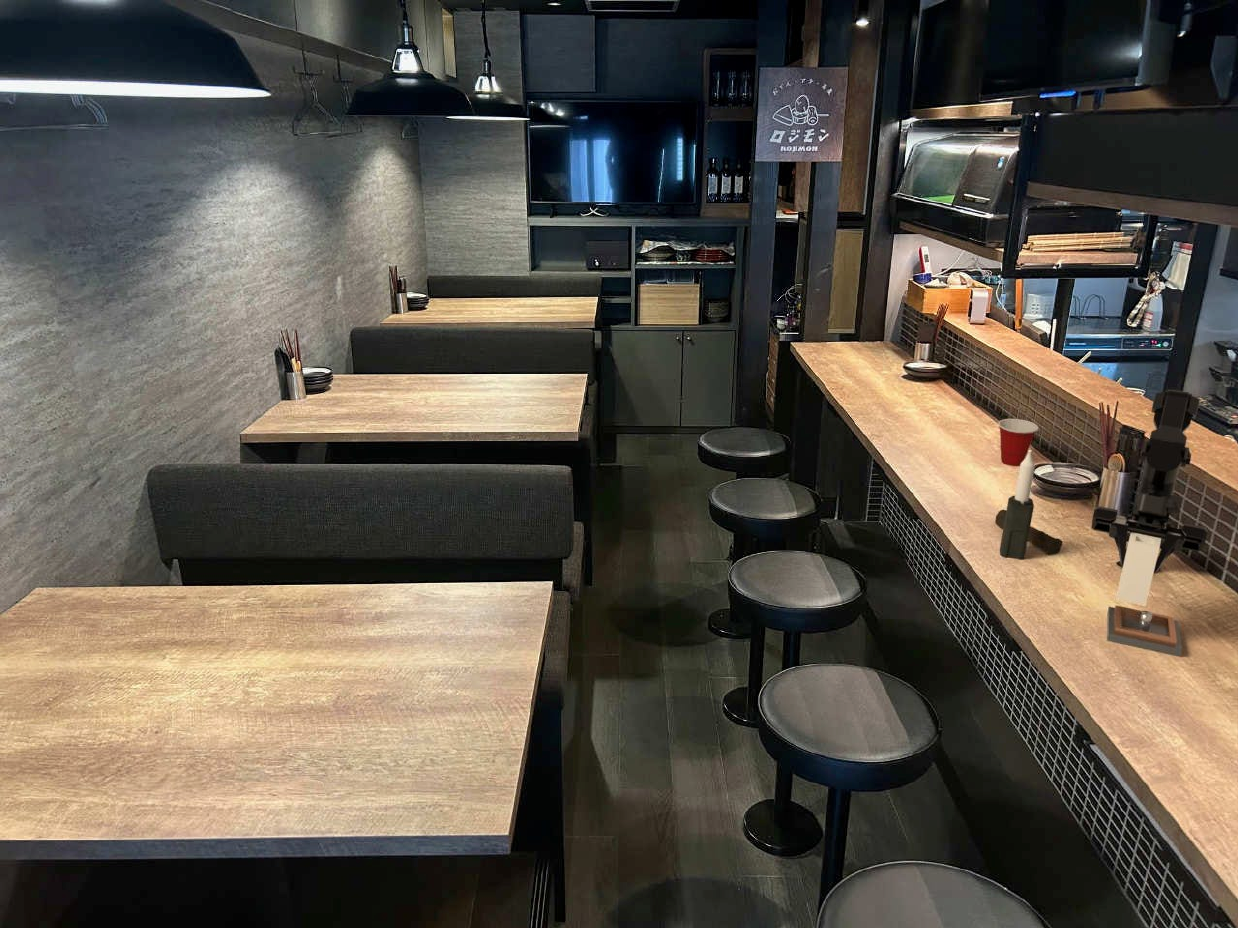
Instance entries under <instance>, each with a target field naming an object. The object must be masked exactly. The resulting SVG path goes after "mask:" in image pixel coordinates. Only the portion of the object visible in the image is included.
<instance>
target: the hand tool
mask: <svg viewBox="0 0 1238 928" xmlns="http://www.w3.org/2000/svg"><path fill="white" fill-rule="evenodd" d="M1006 510H1007V509H1003V508H1002V509H1001V510H999V511H998V512H997V513H996V516H995V525H996V526H998V527H999V528H1000V529H1001V530H1003V527H1004V522H1005V516H1006ZM1027 542H1029V543H1031V544H1033V545H1035V546H1036V547H1038V548H1040V549H1041V550H1044V551H1046V554H1047V555H1048V556H1052V555H1056V554H1058V553H1060V551H1061V548H1062V546H1063V540H1062V539H1060V538H1057V537H1053V536H1051V535H1049V533H1046V532H1044V531H1043V530H1039V529H1037V528H1035V527H1033V526H1031V525H1030V530H1029V536H1028V541H1027Z"/></svg>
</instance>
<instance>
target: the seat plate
mask: <svg viewBox="0 0 1238 928" xmlns="http://www.w3.org/2000/svg"><path fill="white" fill-rule="evenodd" d="M1106 613H1107V615H1106V617H1107V618H1106V623H1107V624H1106V629H1107V630H1106V641H1107V642H1108V641H1109V642H1113V643H1116V644H1117V643H1118V644H1122V645H1126V646H1131V647H1135V648H1139V649H1144V650H1148V651H1153V652H1157V653H1162V654H1166V655H1170V654H1171V656H1176V657H1178V658H1179V657H1180V658H1181V654H1182V652H1183V645H1182V639H1181V632H1180V624H1179V620H1176V619H1175V616H1174V617H1173V616H1169V615H1163V614H1160V613H1154V612H1151V611H1149V610H1148V611H1147V610H1139V609H1135V608H1130V607H1124V606H1121V605H1115V607H1113V606H1108V608H1107V612H1106Z"/></svg>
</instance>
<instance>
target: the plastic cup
mask: <svg viewBox="0 0 1238 928" xmlns="http://www.w3.org/2000/svg"><path fill="white" fill-rule="evenodd" d="M997 424H998V426H999V432H1000V433H999V434H1000V460H1001V463H1002V464H1004V465H1007V466H1012V467H1020V465H1021V462H1022V461H1024V460H1025V458H1026V456H1027V454H1028V450H1030V446H1031V444H1032V440H1033V438H1034V436H1035V434H1036V432H1037V431H1038V430H1039V426H1038V424H1036V423H1034V422H1032V421H1029V420H1025V419H1020V418H1004V419H1002V420H999V421H998V423H997Z"/></svg>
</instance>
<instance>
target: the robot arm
mask: <svg viewBox="0 0 1238 928" xmlns="http://www.w3.org/2000/svg"><path fill="white" fill-rule="evenodd" d="M1200 401H1201V400H1200V398H1198V397H1196V396H1194V395H1193V393H1190V392H1189V391H1183V390H1182V391H1181V390H1176V389H1175V390H1174V389H1166V390H1164V391H1162V392H1156V393H1155V394H1154V398H1153V401H1152V406H1151V411H1150V412H1151V413H1153V414H1154V415H1153V421H1152V423H1153V425H1154V427H1155V429H1154V430H1152V431H1150V435H1149V440H1144V443H1143V446H1142V450H1141V454H1140V460H1141V461H1143V463H1144V465H1143V470H1142V471H1143V472H1142V475H1141V479H1140V480H1141V481H1140V484H1139V487H1138V493H1137V497H1136V501H1135V503H1134V506H1133V507H1132V511H1131V514H1127V516H1123V515H1122V516H1121V515H1118V512H1119V509H1115V508H1110V507H1105V506H1097V507H1095V508H1094V510H1093V514H1092V518H1091V519H1092V521H1091V530H1093V531H1097V532H1102V533H1107V534H1108V537H1110V538H1113V539H1114V542H1115V544H1116V546H1117V550H1118V555H1119V561H1116V565H1117V566H1119V567H1121V568H1123V564H1124V560H1125V555H1126V551H1127V547H1128V542H1129V538H1130V534H1131V532H1133V533H1137V534H1142V535H1147V536H1152V537H1157V538H1161V542H1160V548H1159V552H1158V556H1157V560H1156V565H1155V569H1154V573H1153V574H1157V572H1159V571H1161V569H1162V568H1161V567H1162V565H1163V564H1164V563H1165V561H1167V559H1168V558H1169V557H1170V556H1171V555H1172V554H1173V553H1174V552H1181V551H1182V549H1184V550H1189V551H1192V552H1203V549H1204V546H1205V543H1206V541H1207V536H1208V530H1207V528H1206V527H1205V526H1201V525H1198V524H1197V525H1196V524H1191V523H1187V522H1183V524H1182V527H1181V528H1177V527H1172V523H1171V522H1169V519H1170V514H1172V515H1179V514H1180V510H1181V506H1182V501H1183V497H1182V496H1178V495H1174V491H1175V488H1176V483H1177V478H1178V475H1179V473H1180V470H1181V467H1183V468H1186V465H1188V466H1189V465H1190V464H1191V461H1192V453H1191V451H1190V447H1188V446H1186V444H1187V440H1188V438H1187V436H1186V435H1185V434H1184V433H1185V432H1186V431H1187V430H1188V429H1189V428H1190V425H1191V422H1192V419H1194V420H1195V419H1196V417H1197V414H1198V408H1199V405H1200Z"/></svg>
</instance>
